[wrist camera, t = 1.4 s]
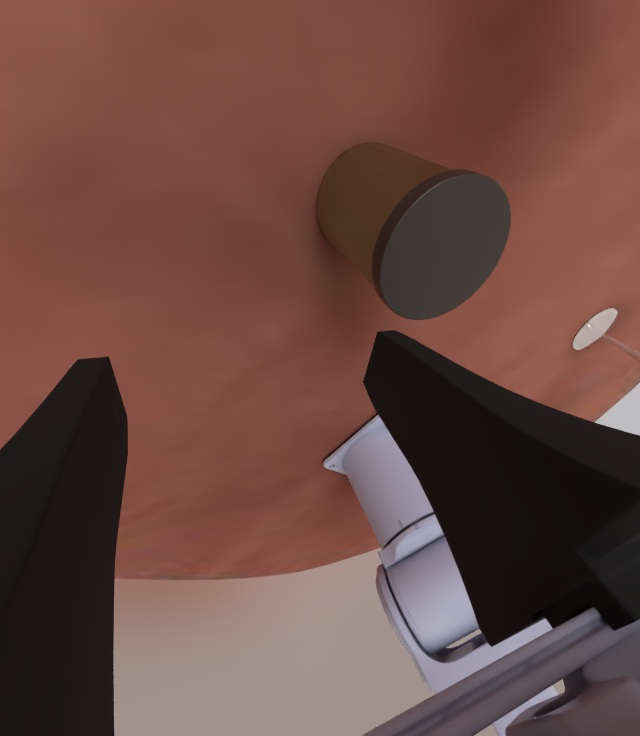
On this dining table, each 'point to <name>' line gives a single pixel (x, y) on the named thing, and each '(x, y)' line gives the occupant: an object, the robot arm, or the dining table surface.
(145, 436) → the dining table surface
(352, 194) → the tea tin
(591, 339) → the wineglass
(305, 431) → the dining table surface
